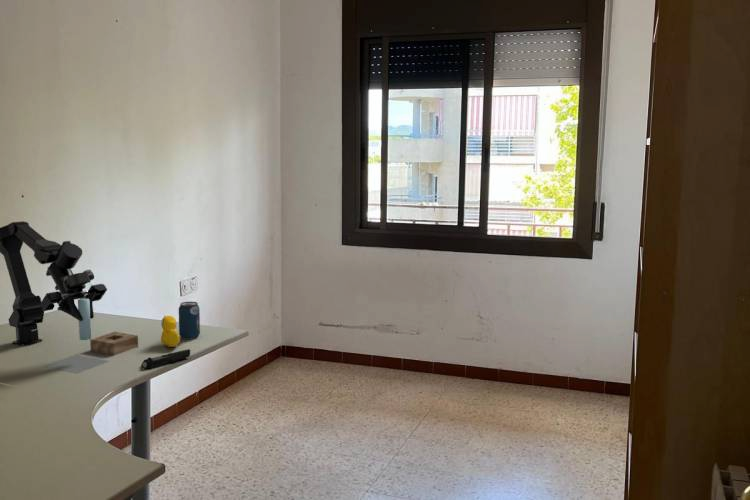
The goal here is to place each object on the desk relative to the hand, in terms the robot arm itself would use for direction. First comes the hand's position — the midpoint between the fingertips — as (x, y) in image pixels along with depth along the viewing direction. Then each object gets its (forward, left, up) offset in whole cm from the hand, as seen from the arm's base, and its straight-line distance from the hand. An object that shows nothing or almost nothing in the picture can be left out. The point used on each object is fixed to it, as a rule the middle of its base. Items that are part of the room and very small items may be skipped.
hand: (87, 319), depth 188 cm
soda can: (+9, +35, -14) cm, 39 cm away
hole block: (-3, +13, -13) cm, 19 cm away
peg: (-1, 0, -6) cm, 6 cm away
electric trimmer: (+21, +10, -14) cm, 27 cm away
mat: (-2, -3, -13) cm, 14 cm away
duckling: (+10, +24, -14) cm, 29 cm away
